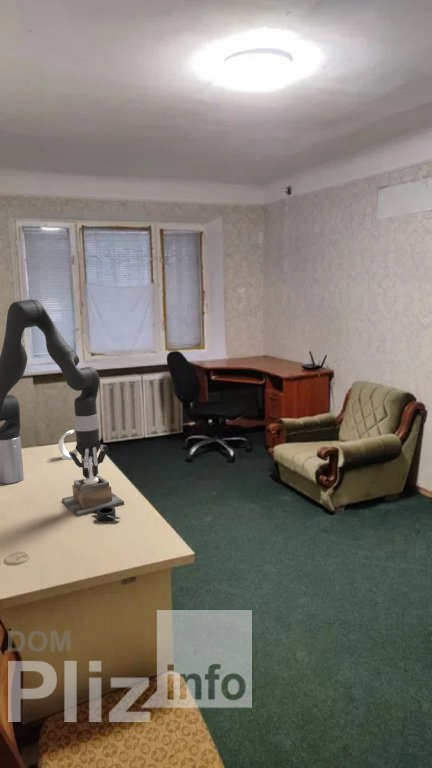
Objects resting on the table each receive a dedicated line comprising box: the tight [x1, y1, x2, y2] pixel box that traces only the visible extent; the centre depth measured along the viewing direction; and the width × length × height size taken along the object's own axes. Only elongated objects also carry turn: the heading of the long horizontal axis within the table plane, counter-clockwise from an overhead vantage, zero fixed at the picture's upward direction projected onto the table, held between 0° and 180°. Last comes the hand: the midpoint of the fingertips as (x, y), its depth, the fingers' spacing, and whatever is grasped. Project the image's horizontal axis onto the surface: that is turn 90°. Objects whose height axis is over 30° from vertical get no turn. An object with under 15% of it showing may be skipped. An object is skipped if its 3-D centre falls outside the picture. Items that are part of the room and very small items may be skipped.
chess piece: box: [83, 457, 99, 484], centre depth 181 cm, size 5×5×10 cm
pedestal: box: [61, 475, 125, 517], centre depth 183 cm, size 16×16×8 cm
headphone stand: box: [57, 429, 75, 460], centre depth 234 cm, size 5×6×12 cm
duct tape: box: [92, 507, 121, 523], centre depth 170 cm, size 8×10×3 cm
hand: (90, 476), depth 182 cm, fingers closed on chess piece
